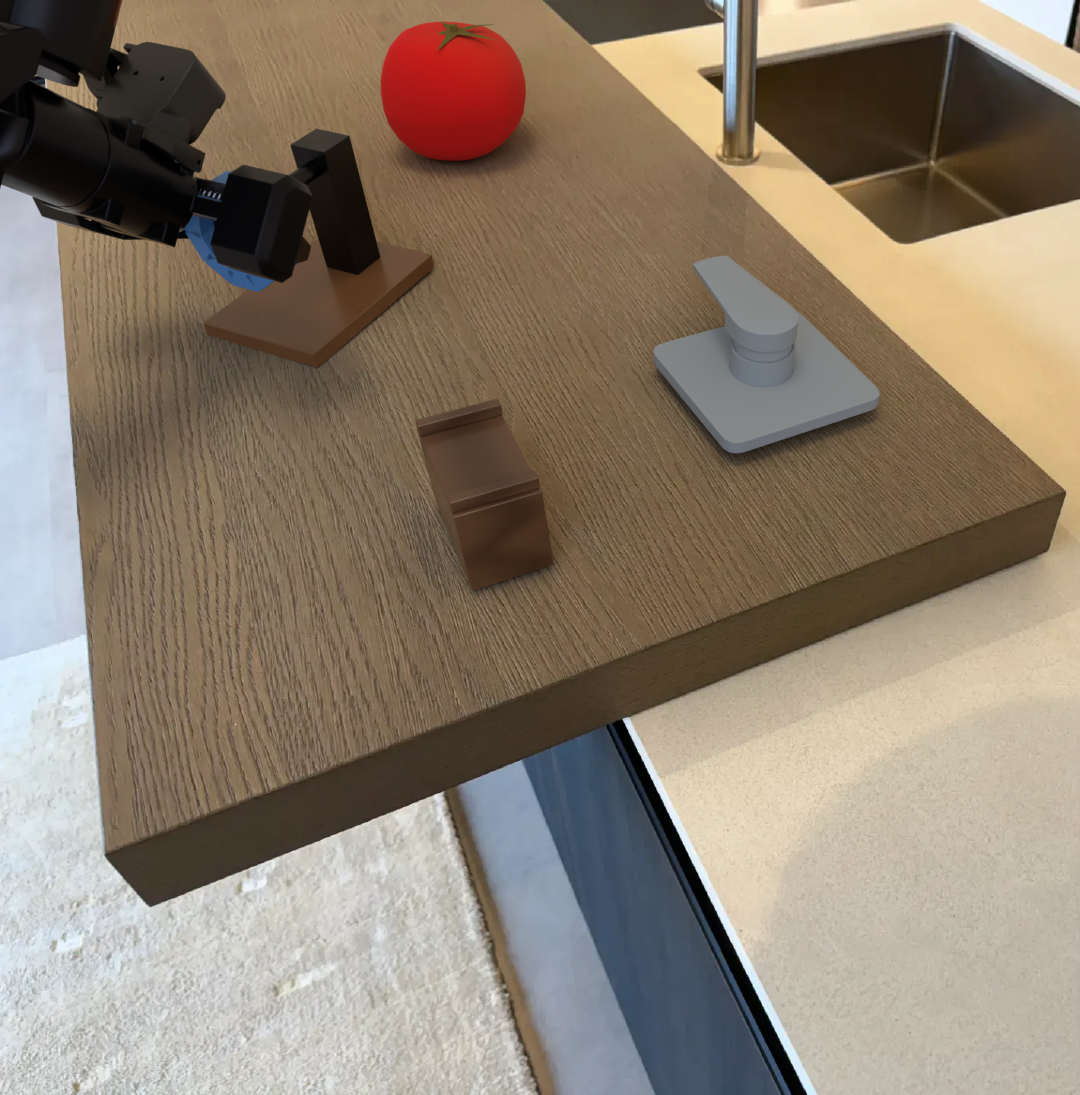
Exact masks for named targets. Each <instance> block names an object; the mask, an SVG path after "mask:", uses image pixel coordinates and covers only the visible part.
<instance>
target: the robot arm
mask: <svg viewBox="0 0 1080 1095" xmlns="http://www.w3.org/2000/svg"><path fill="white" fill-rule="evenodd" d="M122 4H123V0H0V189H1V187H2V186H3V187H7V188H9V189H12V190H14V191H17V192H19V193H21V194H24V195H28V196H30V197H32V200H33V202H34V205H35V206H36V208H37V210H38V212H39V214H40V216H41V217H43V218H45V219H47V220H50V221H54V222H56V223H59V224H62V225H64V226H67V227H71V228H74V229H77V230H78V229H79V230H82V231H86V232H90V233H92V234H93V233H94V234H100V235H104V236H108V237H111V238H115V239H118V240H123V241H149V242H154V243H157V244H160V245H164V246H168V247H171V248H176V245H177V241H178V240H190V239H189V238H188V236H187V235H186V233H185V232H186V231H185V230H184V228H185V227H186V225H187V224H188V223H189V221H190V219H191V218H192V215H194V216H198V217H202V218H206V219H210V220H214V221H216V224H215V228H214V232H213V236H212V240H211V244H210V245H211V247H212V250H213V252H214V255H215V258H216V260H217V263H218V264H221V265H224V266H226V267H229V268H231V269H234V270H238V271H241V272H244V273H247V274H250V275H254V276H258V277H261V278H265V279H269V280H273V281H276V282H280V283H283V282H285V281H286V280H287V279H289V278H290V277H292V274H293V270H294V266H295V264H296V263H300V262H304V261H307V260H308V258H309V254H310V250H311V246H310V244H311V243H309V242H308V241H307V239H306V238H305V237H304V236H303V235H304V232H305V229H306V224H307V220H308V216H309V213H310V205H311V202H312V198H313V196H312V194H311V191H310V189H309V187H308V186H307V185H305V184H304V183H302V182H300V181H298V180H296V179H294V178H293V177H291V176H289V174H286V173H281V172H278V171H273V170H269V169H265V168H260V167H257V166H252V165H247V164H242V165H240V166H239V167H236V168H235V169H234V170H232V171H231V172H230V173H229V174H228V178H227V181H226V184H223V183H219V182H215V181H211V180H212V179H211V180H210V179H206V178H202V177H198V176H194V175H195V173H197V174H199V173H201V172H202V169H203V165H204V161H205V157H206V153H205V152H204V151H202V150H201V149H198V148H197V147H195V146H193V145H192V144H193V143H195V142H196V141H197V140H198V139H199V138H200V137H201V134H203V132H204V130H205V128H206V127H207V125H208V124H209V123H210V121H211V119H212V117H214V116H213V115H215V112H216V111H217V110H220V109H221V108H222V107H223V105H224V104H225V102H226V98H227V94H226V92H225V90H224V89H223V88H222V87H221V85H220V84H219V83H218V81H217V80H216V79H215V78H214V76H212V74H211V73H210V72H209V70H208V69H207V68H206V66H204V64H203V63H202V62H201V60H200V59H199V58H198V56H197V55H196V54H195V53H194V51H193V50H190V49H186V48H182V47H178V46H173V45H167V44H162V43H158V42H152V41H145V42H144V41H143V42H140V43H138V44H134V43H130V42H125V44H124V45H123V49H124V51H125V52H126V53H125V52H123V51H121V50H118V49H115V48H112V43H113V39H114V37H115V36H114V35H115V31H116V27H117V24H118V19H119V15H120V12H121V8H122ZM81 75H82V76H83V79H84V82H85V84H86V86H87V88H88V90H89V92H90V93H91V95H93V96H94V98H95V99H96V111H95V110H94V109H91V108H89V107H86V106H83V105H82V104H79V103H77V102H75V101H73V100H71V99H69V98H68V97H65V96H63V95H61V94H60V93H57V92H55V91H54V90H51V89H50V88H47V87H45V86H43V85H42V84H39V83H37V82H36V81H34V80H32V79H34V77H36V76H37V77H39V78H42V79H44V80H48V81H50V82H53V83H57V84H60V85H64V86H67V87H72V88H78V87H79V85H80V80H81ZM198 195H200V196H202V195H203V196H205V197H209V198H214V199H216V200H217V199H218V200H221V202H218V201H214V200H210V199H206V198H202V197H198Z"/></svg>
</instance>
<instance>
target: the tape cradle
mask: <svg viewBox="0 0 1080 1095" xmlns="http://www.w3.org/2000/svg"><path fill="white" fill-rule="evenodd" d="M503 413H504V412H503V408H502V404H501V402H500V400H499V399H498V398H494V399H491V400H487V401H483V402H479V403H475V404H472V405H467V406H463V407H460V408H457V409H453V410H448V411H445V412H441V413H437V414H433V415H429V416H425V417H422V418H418V419H415V421H414V422H415V425H416V426H415V427H416V431H417V435H418V440H419V442H420V447H421V450H422V454H423V459H424V462H425V466H426V470H427V473H428V477H429V481H430V485H431V488H432V493H433V496H434V500H435V503H436V506H437V508H438V510H439V513H440V516H441V518H442V520H443V522H444V525H445V528H446V530H447V533H448V535H449V538H450V541H451V544H452V545H453V547H454V551H455V552H456V555H457V557H458V560H459V563H460V565H461V567H462V571H463V573H464V575H465V577H466V580H467V583H468V585H469V587H470V591H476V590H479V589H483V588H485V587H488V586H491V585H494V584H498V583H500V582H505V581H507V580H510V579H514V578H517V577H520V576H522V575H527V574H529V573H533V572H535V571H539V570H542V569H545V568H547V567H551V566H553V565H554V559H553V553H552V545H551V540H550V534H549V528H548V521H547V520H548V519H547V515H546V514H547V513H546V508H545V501H544V495H543V491H542V489H541V484H540V478H539V476H538V474H537V472H536V470H532V469H531V467H530V465H529V463H528V461H527V459H526V458H525V455H524V454H523V452H522V449H521V448H520V446H519V443H518V441H517V439H516V438H515V436H514V434H513V432H512V430H511V428H510V426H509V424H508V422H507V421H506V418H505V416H504V414H503Z"/></svg>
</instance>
